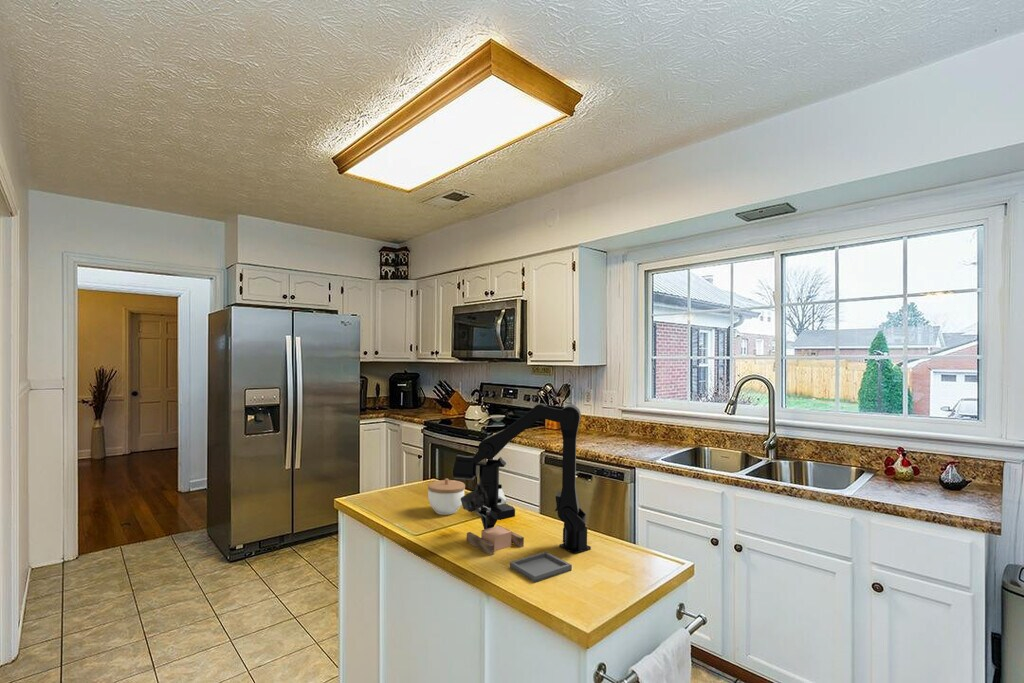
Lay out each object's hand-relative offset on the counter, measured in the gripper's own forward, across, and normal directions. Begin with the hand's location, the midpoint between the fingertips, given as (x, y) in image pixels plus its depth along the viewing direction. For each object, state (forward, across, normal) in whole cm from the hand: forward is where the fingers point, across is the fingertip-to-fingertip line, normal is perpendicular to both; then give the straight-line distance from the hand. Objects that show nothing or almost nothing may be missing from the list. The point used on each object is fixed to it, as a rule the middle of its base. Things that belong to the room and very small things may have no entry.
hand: (487, 534), depth 146 cm
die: (+2, -19, +16) cm, 25 cm away
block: (+1, +5, 0) cm, 5 cm away
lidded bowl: (+2, -29, +3) cm, 30 cm away
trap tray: (+1, +24, 0) cm, 24 cm away
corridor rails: (+1, +4, 0) cm, 4 cm away
